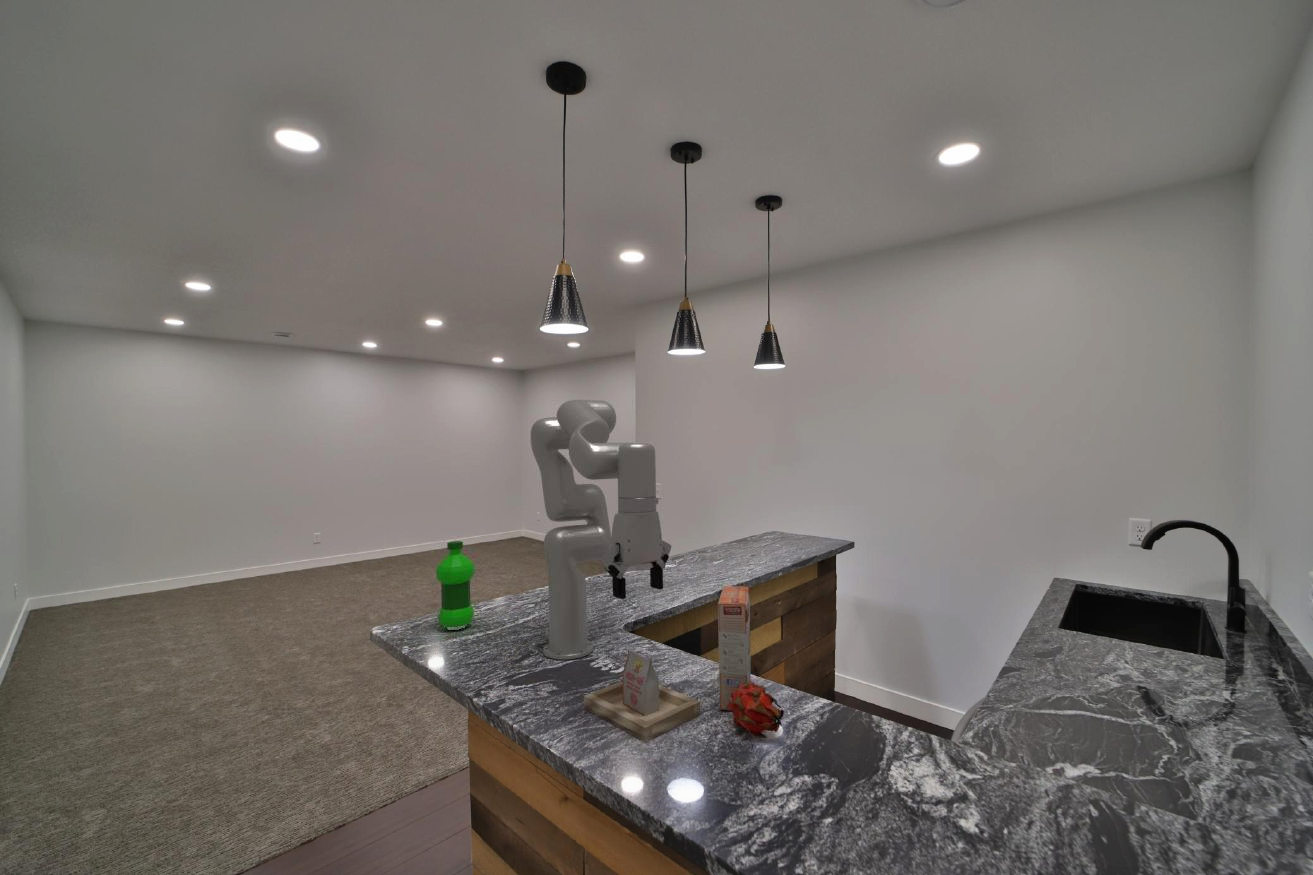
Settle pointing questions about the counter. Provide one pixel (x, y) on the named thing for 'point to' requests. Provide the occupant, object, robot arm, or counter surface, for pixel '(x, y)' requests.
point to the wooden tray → (645, 728)
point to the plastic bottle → (455, 587)
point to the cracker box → (733, 641)
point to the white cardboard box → (640, 685)
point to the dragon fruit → (754, 709)
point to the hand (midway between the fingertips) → (638, 592)
